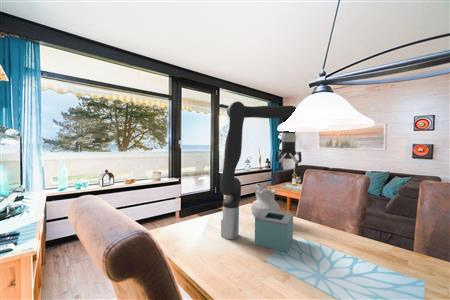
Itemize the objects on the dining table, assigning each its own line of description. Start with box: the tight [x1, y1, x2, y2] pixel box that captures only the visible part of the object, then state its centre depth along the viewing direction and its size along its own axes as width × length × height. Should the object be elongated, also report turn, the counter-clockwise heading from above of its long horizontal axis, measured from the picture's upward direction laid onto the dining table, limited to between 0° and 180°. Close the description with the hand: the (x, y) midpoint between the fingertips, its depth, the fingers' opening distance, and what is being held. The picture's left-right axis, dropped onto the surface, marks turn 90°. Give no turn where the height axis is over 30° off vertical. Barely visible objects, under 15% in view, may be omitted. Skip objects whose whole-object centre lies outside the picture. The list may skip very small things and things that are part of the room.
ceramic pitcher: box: [250, 182, 281, 219], centre depth 141 cm, size 22×20×25 cm
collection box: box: [254, 209, 294, 254], centre depth 111 cm, size 16×16×14 cm
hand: (288, 169), depth 120 cm, fingers open, 8 cm apart
